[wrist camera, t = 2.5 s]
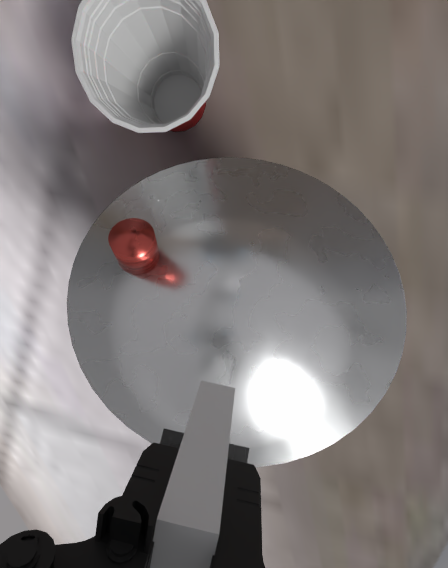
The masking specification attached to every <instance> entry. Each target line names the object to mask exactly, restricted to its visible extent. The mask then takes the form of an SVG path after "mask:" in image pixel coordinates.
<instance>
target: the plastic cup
mask: <svg viewBox="0 0 448 568" xmlns="http://www.w3.org/2000/svg"><path fill="white" fill-rule="evenodd" d="M71 41H72V49H73V56H74V64H75V72H76V74H77V76H78V78H79V80H80V82H81V84H82V86H83V88H84V90H85V92H86V94H87V96H88V98H89V100H90V102H91V103H92V104H93V105H94V106H95V107H96V108H98V109H99V110H100V111H101V112H102V113H103V114H104V115H105V116H106V117H107V118H108V119H109V120H110V121H111V122H112V123H115V124H117V125H120V126H122V127H125V128H127V129H130V130H132V131H135V132H137V133H151V132H167V131H169V130H170V131H173V132H176V131H186V130H188V129H190V128H191V127H193V126H195V125H196V124H197V122H198V121H199V120H200V119H201V117H202V115H203V112H204V109H205V106H206V100H207V99H208V98H209V97H210V94H211V90H212V87H213V84H214V81H215V78H216V75H217V72H218V69H219V33H218V30H217V27H216V25H215V22H214V20H213V17H212V14H211V12H210V9H209V7H208V4H207V2H206V0H82V2H81V3H80V5H79V6H78V10H77V15H76V19H75V24H74V29H73V33H72V38H71Z"/></svg>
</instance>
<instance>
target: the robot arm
mask: <svg viewBox="0 0 448 568" xmlns="http://www.w3.org/2000/svg"><path fill="white" fill-rule="evenodd" d="M234 394H235V388H233V387H228V386H224V385H220V384H215V383H211V382H206V381H202V380H201V382H200V385H199V388H198V392H197V395H196V398H195V401H194V404H193V407H192V410H191V414H190V417H189V420H188V423H187V426H186V429H185V432H184V435H183V439H182V442H181V445H180V448H175V447H171V446H167V445H162V444H158V443H152V444H151V445H150V446H149V447H148V448H147V449H145V450H144V451H143V453H142V455H141V457H140V459H139V461H138V463H137V466H136V467H135V470H134V472H133V474H132V477H131V478H130V480H129V482H128V485H127V487H126V489H125V491H124V493H123V495H122V496H120V497H116V498H114V499H112V500H111V501H109V502H108V503H106V504H105V505H104V507H103V508H102V509H101V510H100V512H99V513H98V520H97V528H96V536H94V537H92V538H90V539H88V540H86V541H82V542H77V543H70V544H60V545H55V544H54V540H53V539H52V538H51V537H50V536H49V535H48V533H46V532H43V531H39V530H28V531H23V532H21V533H18V534H16V535H13V536H11V537H10V538H8V539H7V540H6V541H4V542H3V543H1V544H0V568H265V566H264V563H263V556H262V527H261V495H260V493H261V485H260V477H259V474H258V472H257V470H256V468H255V466H254V465H253V464H248V463H244V462H240V461H235V460H231V459H228V449H229V440H230V431H231V422H232V412H233V403H234Z"/></svg>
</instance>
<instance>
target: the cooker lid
mask: <svg viewBox="0 0 448 568" xmlns="http://www.w3.org/2000/svg"><path fill="white" fill-rule="evenodd" d="M67 314H68V326H69V331H70V336H71V341H72V346H73V348H74V351H75V354H76V356H77V359H78V362H79V364H80V367H81V369H82V371H83V373H84V374H85V376H86V378H87V380H88V382H89V383H90V385H91V387H92V389H93V390H94V391H95V393H96V394H97V395H98V396H99V398H100V399H101V400H102V402H103V403H104V404H105V405H106V407H107V408H108V409H109V410H110V411H111V412H112V413H113V414H114V415H115V416H116V417H117V418H119V419H120V420H121V421H122V422H123V423H124V424H125V425H126V426H127V427H128V428H130V429H131V430H133V431H134V432H136V433H137V434H139V435H140V436H141V437H143V438H144V439H146V440H147V441H149V442H150V443H158V444H162V445H167V446H171V447H175V448H180V445H181V442H182V439H183V435H184V432H185V429H186V426H187V423H188V420H189V417H190V414H191V410H192V407H193V404H194V401H195V398H196V395H197V392H198V388H199V385H200V382H201V380H202V381H206V382H211V383H215V384H220V385H224V386H228V387H233V388H235V394H234V403H233V412H232V422H231V431H230V440H229V449H228V459H231V460H235V461H240V462H244V463H248V464H253V465H254V466H255V467H262V466H269V465H275V464H282V463H287V462H290V461H293V460H296V459H299V458H303V457H306V456H309V455H312V454H314V453H316V452H318V451H320V450H322V449H324V448H326V447H328V446H330V445H332V444H334V443H335V442H337V441H338V440H340V439H341V438H342V437H344V436H345V435H347V434H348V433H349V432H351V431H352V430H354V429H355V428H356V427H357V426H358V425H359V424H360V423H361V422H362V421H363V420H364V419H365V418H366V417H367V416H368V415H369V414H370V413H371V412H372V411H373V410H374V408H375V407H376V406H377V404H378V403H379V402H380V400H381V399H382V397H383V396H384V395H385V393H386V391H387V390H388V388H389V386H390V384H391V382H392V380H393V378H394V376H395V374H396V371H397V368H398V365H399V362H400V359H401V356H402V353H403V348H404V342H405V336H406V314H407V311H406V303H405V295H404V289H403V286H402V282H401V278H400V274H399V271H398V269H397V266H396V264H395V262H394V259H393V257H392V254H391V253H390V251H389V249H388V247H387V246H386V244H385V242H384V240H383V238H382V237H381V236H380V234H379V233H378V232H377V230H376V229H375V227H374V226H373V225H372V223H371V222H370V221H369V220H368V219H367V218H366V217H365V216H364V214H363V213H362V212H361V211H360V210H359V209H358V208H357V207H356V206H354V205H353V204H352V203H351V202H350V201H349V200H348V199H346V198H345V197H344V196H343V195H341V194H340V193H338V192H337V191H336V190H334V189H333V188H331V187H330V186H328V185H326V184H325V183H323V182H321V181H319V180H318V179H316V178H314V177H312V176H310V175H307V174H305V173H303V172H301V171H298V170H296V169H293V168H290V167H287V166H284V165H281V164H276V163H272V162H268V161H263V160H256V159H249V158H232V157H226V158H210V159H203V160H196V161H191V162H187V163H183V164H179V165H176V166H173V167H170V168H168V169H165V170H162V171H159V172H157V173H155V174H153V175H151V176H149V177H147V178H145V179H143V180H142V181H140V182H138V183H137V184H135V185H134V186H132V187H131V188H129V189H128V190H126V191H125V192H124V193H123V194H121V195H120V196H119V197H118V198H116V199H115V200H114V201H113V202H112V203H111V204H110V205H109V206H108V207H107V208H106V209H105V210H104V211H103V212H102V213H101V215H100V216H99V217H98V219H97V220H96V221H95V223H94V224H93V225H92V227H91V228H90V230H89V231H88V233H87V235H86V237H85V238H84V240H83V242H82V244H81V246H80V248H79V251H78V253H77V256H76V258H75V261H74V263H73V267H72V271H71V275H70V279H69V286H68V296H67Z"/></svg>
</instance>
